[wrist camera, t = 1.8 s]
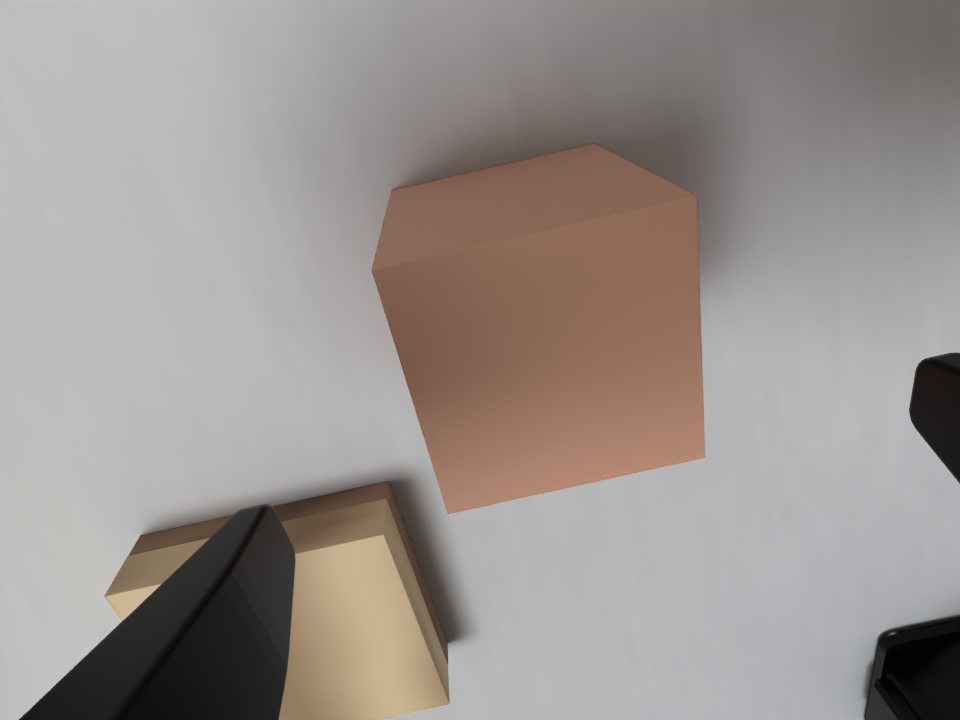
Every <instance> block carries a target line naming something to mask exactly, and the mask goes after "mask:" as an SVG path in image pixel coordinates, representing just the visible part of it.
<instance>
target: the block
mask: <svg viewBox="0 0 960 720" xmlns="http://www.w3.org/2000/svg"><path fill="white" fill-rule="evenodd" d="M372 273H373V276H374V279H375V282H376V285H377V289H378V292H379V295H380V298H381V301H382V305H383V308H384V311H385V314H386V317H387V321H388V324H389V327H390V330H391V333H392V337H393V340H394V343H395V346H396V349H397V353H398V356H399V359H400V362H401V366H402V369H403V372H404V375H405V378H406V382H407V385H408V388H409V391H410V394H411V398H412V401H413V404H414V407H415V410H416V414H417V417H418V420H419V423H420V426H421V430H422V433H423V436H424V439H425V442H426V446H427V449H428V452H429V455H430V458H431V462H432V465H433V468H434V471H435V474H436V478H437V481H438V484H439V487H440V490H441V494H442V497H443V500H444V503H445V506H446V510H447V513H448V514H451V513H455V512H460V511H464V510H469V509H473V508H478V507H483V506H487V505H492V504H496V503H501V502H505V501H510V500H514V499H519V498H523V497H528V496H532V495H537V494H541V493H546V492H551V491H555V490H560V489H564V488H569V487H573V486H578V485H582V484H587V483H591V482H596V481H600V480H605V479H609V478H614V477H619V476H623V475H628V474H632V473H637V472H641V471H646V470H650V469H655V468H659V467H664V466H668V465H673V464H677V463H682V462H687V461H691V460H696V459H700V458H705V439H704V407H703V376H702V344H701V312H700V280H699V248H698V217H697V195H695V194H693V193H691V192H689V191H687V190H685V189H683V188H681V187H679V186H677V185H675V184H673V183H671V182H669V181H667V180H665V179H663V178H661V177H659V176H658V175H656V174H654V173H652V172H650V171H648V170H646V169H644V168H642V167H640V166H638V165H636V164H634V163H632V162H630V161H628V160H626V159H624V158H622V157H620V156H618V155H616V154H614V153H612V152H610V151H608V150H606V149H604V148H602V147H600V146H599V145H597V144H595V143H594V144H589V145H585V146H581V147H576V148H572V149H568V150H563V151H559V152H555V153H551V154H546V155H542V156H538V157H533V158H529V159H525V160H520V161H516V162H512V163H508V164H503V165H499V166H495V167H490V168H486V169H482V170H477V171H473V172H469V173H465V174H460V175H456V176H452V177H447V178H443V179H439V180H434V181H430V182H426V183H422V184H417V185H413V186H409V187H404V188H400V189H396V190H391V194H390V198H389V202H388V206H387V210H386V214H385V218H384V222H383V226H382V231H381V235H380V239H379V243H378V247H377V251H376V255H375V259H374V263H373V267H372Z"/></svg>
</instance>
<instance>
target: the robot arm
mask: <svg viewBox="0 0 960 720" xmlns="http://www.w3.org/2000/svg"><path fill="white" fill-rule="evenodd" d="M909 413H910V418H911V421H912V423H913V425H914V427H915V428H916V430H917V431H918V432H919V433H920V435H921V436H922V437H923V438H924V440H925V441H926V442H927V443H928V445H929V446H930V447H931V448H932V450H933V451H934V452H935V453H936V455H937V456H938V457H939V458H940V460H941V461H942V462H943V463H944V465H945V466H946V467H947V468H948V470H949V471H950V472H951V473H952V474H953V476H954V477H955V478H956V479H957V481H958V482H959V483H960V353H948V354H943V355H939V356H934V357H930V358H926V359H924V360H922V361H921V362H920V363H919V364H918V366H917V368H916V372H915V378H914V384H913V390H912V396H911V401H910V408H909ZM295 561H296V560H295V551H294V548H293V545H292V543H291V541H290V538H289V536H288V534H287V532H286V530H285V528H284V526H283V524H282V522H281V520H280V518H279V516H278V514H277V512H276V511H275V509H274V508H273V507H272V506H271V505H268V504H263V505H258V506H253V507H249V508H244V509H241V510H239V511H238V512H237V513H236V514H235V515H234V516H232V517H231V518H230V519H229V520H228V521H227V522H226V523H225V524H224V525H223V526H222V527H221V528H220V529H219V530H218V531H217V532H216V533H215V534H214V535H213V536H211V537H210V538H209V539H208V540H207V541H206V542H205V543H204V544H203V545H202V546H201V547H200V548H199V549H198V550H197V551H196V552H195V553H194V554H193V555H192V556H190V557H189V558H188V559H187V560H186V561H185V562H184V563H183V564H182V565H181V566H180V567H179V568H178V569H177V570H176V571H175V572H174V573H173V574H172V575H171V576H169V577H168V578H167V579H166V580H165V581H164V582H163V583H162V584H161V585H160V586H159V587H158V588H157V589H156V590H155V591H154V592H153V593H152V594H151V595H149V596H148V597H147V598H146V599H145V600H144V601H143V602H142V603H141V604H140V605H139V606H138V607H137V608H136V609H135V610H134V611H133V612H132V613H131V614H130V615H128V616H127V617H126V618H125V619H124V620H123V621H122V622H121V623H120V624H119V625H118V626H117V627H116V628H115V629H114V630H113V631H112V632H111V633H110V634H109V635H107V636H106V637H105V638H104V639H103V640H102V641H101V642H100V643H99V644H98V645H97V646H96V647H95V648H94V649H93V650H92V651H91V652H90V653H89V654H88V655H86V656H85V657H84V658H83V659H82V660H81V661H80V662H79V663H78V664H77V665H76V666H75V667H74V668H73V669H72V670H71V671H70V672H69V673H68V674H66V675H65V676H64V677H63V678H62V679H61V680H60V681H59V682H58V683H57V684H56V685H55V686H54V687H53V688H52V689H51V690H50V691H49V692H48V693H47V694H45V695H44V696H43V697H42V698H41V699H40V700H39V701H38V702H37V703H36V704H35V705H34V706H33V707H32V708H31V709H30V710H29V711H28V712H27V713H26V714H24V715H23V716H22V717H21V718H20V719H19V720H279V716H280V710H281V705H282V699H283V694H284V688H285V682H286V676H287V669H288V660H289V649H290V635H291V620H292V606H293V592H294V577H295ZM865 720H960V621H956V622H951V623H946V624H941V625H937V626H932V627H927V628H922V629H917V630H913V631H908V632H903V633H898V634H894V635H890V636H887V637H886V638H884V639H883V640H882V641H881V642H880V643H879V646H878V651H877V656H876V662H875V667H874V673H873V678H872V683H871V689H870V694H869V700H868V705H867V710H866V716H865Z"/></svg>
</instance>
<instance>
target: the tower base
mask: <svg viewBox="0 0 960 720" xmlns="http://www.w3.org/2000/svg"><path fill="white" fill-rule="evenodd" d="M381 499H387V501H388V504H389V507H390V510H391V512H392V515H393V518H394V520H395V523H396V526H397V528H398V531H399V534H400V537H401V539H402V542H403V545H404V547H405V550H406V553H407V555H408V558H409V561H410V564H411V566H412V569H413V572H414V574H415V577H416V580H417V582H418V585H419V588H420V591H421V593H422V596H423V599H424V601H425V604H426V607H427V609H428V612H429V615H430V618H431V620H432V623H433V626H434V628H435V631H436V634H437V636H438V639H439V642H440V645H441V647H442V650H443V653H444V655H445V658H446V661H447V663H448V646H447V641H446V638H445V636H444V633H443V630H442V628H441V625H440V622H439V619H438V617H437V614H436V611H435V608H434V606H433V603H432V600H431V597H430V595H429V592H428V589H427V586H426V584H425V581H424V578H423V575H422V573H421V570H420V567H419V564H418V562H417V559H416V556H415V553H414V551H413V548H412V545H411V542H410V540H409V537H408V534H407V531H406V529H405V526H404V523H403V520H402V518H401V515H400V512H399V509H398V507H397V504H396V501H395V498H394V496H393V493H392V490H391V487H390V485H389V482H388V481H386V482H382V483H377V484H373V485H368V486H364V487H359V488H355V489H350V490H346V491H341V492H336V493H332V494H327V495H323V496H318V497H314V498H309V499H305V500H300V501H296V502H291V503H287V504H282V505H277V506H273V508H274V509H275V511H276V512H277V514H278V516H279V518H280V520H281V522H282V521H287V520H291V519H296V518H300V517H305V516H309V515H314V514H318V513H323V512H327V511H331V510H336V509H340V508H345V507H349V506H354V505H359V504H363V503H368V502H372V501H377V500H381ZM232 516H234V515H232ZM232 516H228V517H223V518H218V519H214V520H209V521H205V522H200V523H196V524H191V525H187V526H182V527H178V528H173V529H168V530H164V531H159V532H155V533H150V534H146V535H141V536H140V537H139V539H138V540H137V542H136V544H135V546H134V547H133V549H132V551H131V552H130V554H129V555H134V554H138V553H143V552H147V551H152V550H156V549H161V548H165V547H170V546H174V545H179V544H183V543H188V542H192V541H197V540H201V539H206V538H210V537H211V536H213V535H214V534H215V533H216V532H217V531H218V530H219V529H220V528H221V527H222V526H223V525H224V524H225V523H226V522H227V521H228V520H229V519H230V518H231V517H232Z"/></svg>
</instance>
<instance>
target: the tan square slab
mask: <svg viewBox="0 0 960 720" xmlns="http://www.w3.org/2000/svg"><path fill="white" fill-rule="evenodd" d="M282 524H283V526H284V528H285V530H286V532H287V534H288V536H289V538H290V541H291V543H292V545H293V548H294V551H295V560H296V561H295V577H294V592H293V606H292V620H291V635H290V649H289V660H288V669H287V676H286V682H285V688H284V694H283V699H282V705H281V710H280V716H279V720H378V719H382V718H387V717H391V716H396V715H401V714H405V713H410V712H415V711H419V710H424V709H429V708H433V707H438V706H442V705H447V704H449V681H448V663H447V661H446V658H445V655H444V653H443V650H442V647H441V645H440V642H439V639H438V636H437V634H436V631H435V628H434V626H433V623H432V620H431V618H430V615H429V612H428V609H427V607H426V604H425V601H424V599H423V596H422V593H421V591H420V588H419V585H418V582H417V580H416V577H415V574H414V572H413V569H412V566H411V564H410V561H409V558H408V555H407V553H406V550H405V547H404V545H403V542H402V539H401V537H400V534H399V531H398V528H397V526H396V523H395V520H394V518H393V515H392V512H391V510H390V507H389V504H388V501H387V499H381V500H377V501H372V502H368V503H363V504H359V505H354V506H349V507H345V508H340V509H336V510H331V511H327V512H323V513H318V514H314V515H309V516H305V517H300V518H296V519H291V520H287V521H282ZM208 539H209V538H206V539H201V540H197V541H192V542H188V543H183V544H179V545H174V546H170V547H165V548H161V549H156V550H152V551H147V552H143V553H138V554H134V555H129V556H128V557H127V558H126V560H125V562H124V564H123V565H122V567H121V569H120V570H119V572H118V574H117V575H116V577H115V579H114V581H113V582H112V584H111V586H110V587H109V589H108V591H107V592H106V594H105V596H104V597H105V598H106V600H107V601H108V602H109V604H110V605H111V606H112V608H113V609H114V610H115V612H116V613H117V614H118V616H119V617H120V618H121V620H122V621H123V620H124V619H125V618H126V617H127V616H128V615H130V614H131V613H132V612H133V611H134V610H135V609H136V608H137V607H138V606H139V605H140V604H141V603H142V602H143V601H144V600H145V599H146V598H147V597H148V596H149V595H151V594H152V593H153V592H154V591H155V590H156V589H157V588H158V587H159V586H160V585H161V584H162V583H163V582H164V581H165V580H166V579H167V578H168V577H169V576H171V575H172V574H173V573H174V572H175V571H176V570H177V569H178V568H179V567H180V566H181V565H182V564H183V563H184V562H185V561H186V560H187V559H188V558H189V557H190V556H192V555H193V554H194V553H195V552H196V551H197V550H198V549H199V548H200V547H201V546H202V545H203V544H204V543H205V542H206V541H207V540H208Z"/></svg>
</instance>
